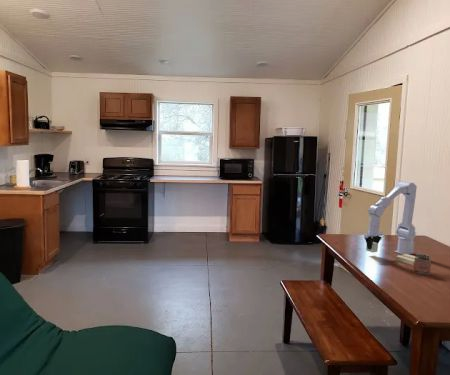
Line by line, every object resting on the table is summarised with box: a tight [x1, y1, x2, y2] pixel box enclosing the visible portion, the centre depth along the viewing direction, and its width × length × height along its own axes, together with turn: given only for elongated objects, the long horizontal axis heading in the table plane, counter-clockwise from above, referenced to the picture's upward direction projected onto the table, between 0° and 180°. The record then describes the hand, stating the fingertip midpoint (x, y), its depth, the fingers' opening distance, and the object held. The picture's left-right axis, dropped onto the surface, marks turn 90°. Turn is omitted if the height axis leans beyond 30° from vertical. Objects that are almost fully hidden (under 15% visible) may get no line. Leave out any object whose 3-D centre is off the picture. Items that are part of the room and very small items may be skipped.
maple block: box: [395, 254, 416, 267], centre depth 220 cm, size 10×10×3 cm
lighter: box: [412, 252, 433, 275], centre depth 201 cm, size 8×3×10 cm, turn 71°
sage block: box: [365, 242, 379, 253], centre depth 227 cm, size 4×4×5 cm
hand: (371, 248), depth 227 cm, fingers closed on sage block, 4 cm apart
